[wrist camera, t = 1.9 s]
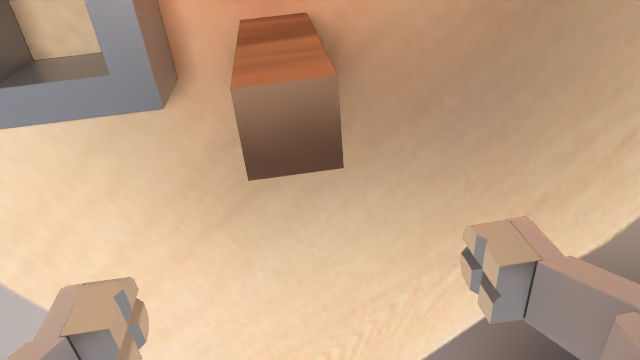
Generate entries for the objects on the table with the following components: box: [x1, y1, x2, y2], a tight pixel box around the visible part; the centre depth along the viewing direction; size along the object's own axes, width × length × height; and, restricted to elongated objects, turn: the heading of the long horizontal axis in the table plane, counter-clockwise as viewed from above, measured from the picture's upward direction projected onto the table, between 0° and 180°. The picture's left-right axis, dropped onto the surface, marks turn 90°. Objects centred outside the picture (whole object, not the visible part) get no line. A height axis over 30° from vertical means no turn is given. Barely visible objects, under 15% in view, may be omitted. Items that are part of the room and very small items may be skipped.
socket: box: [0, 0, 177, 129], centre depth 23 cm, size 10×10×5 cm
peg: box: [230, 13, 344, 181], centre depth 23 cm, size 4×4×12 cm
